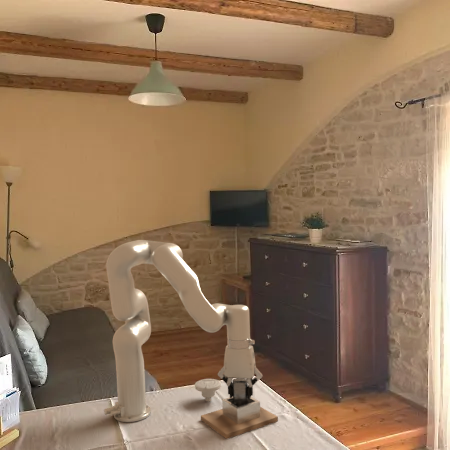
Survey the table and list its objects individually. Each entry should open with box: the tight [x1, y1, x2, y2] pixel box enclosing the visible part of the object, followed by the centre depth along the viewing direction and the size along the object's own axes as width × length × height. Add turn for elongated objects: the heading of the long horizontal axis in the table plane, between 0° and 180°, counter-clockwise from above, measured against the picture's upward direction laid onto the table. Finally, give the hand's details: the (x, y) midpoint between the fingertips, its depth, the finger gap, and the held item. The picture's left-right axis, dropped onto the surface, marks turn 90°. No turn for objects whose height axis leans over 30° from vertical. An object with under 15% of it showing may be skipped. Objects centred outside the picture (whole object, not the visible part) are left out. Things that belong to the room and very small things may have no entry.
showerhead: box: [194, 377, 222, 402], centre depth 177 cm, size 9×7×10 cm
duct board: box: [200, 396, 279, 440], centre depth 160 cm, size 20×16×6 cm
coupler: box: [232, 378, 248, 407], centre depth 160 cm, size 5×5×8 cm
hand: (240, 396), depth 161 cm, fingers open, 5 cm apart
